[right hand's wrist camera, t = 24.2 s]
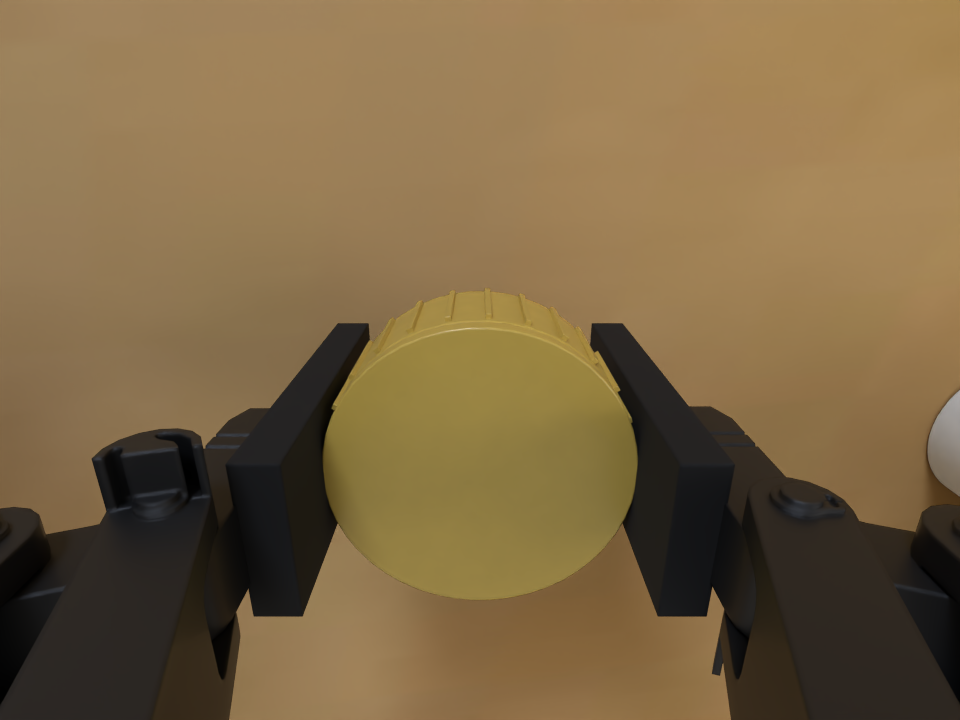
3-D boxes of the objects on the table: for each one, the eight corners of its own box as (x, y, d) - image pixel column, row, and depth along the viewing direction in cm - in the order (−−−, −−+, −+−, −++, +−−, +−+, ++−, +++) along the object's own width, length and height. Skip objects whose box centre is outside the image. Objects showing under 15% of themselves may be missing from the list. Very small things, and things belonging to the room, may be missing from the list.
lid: (629, 293, 11) (668, 330, 9) (594, 529, 13) (618, 610, 11) (343, 279, 11) (307, 313, 9) (352, 519, 13) (325, 598, 11)
